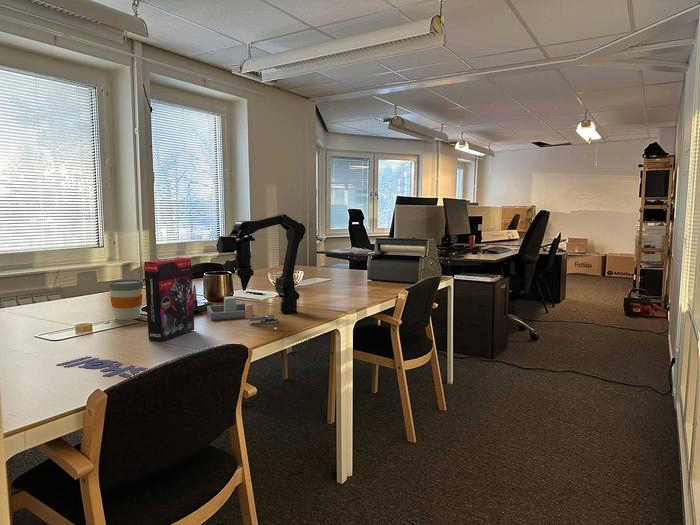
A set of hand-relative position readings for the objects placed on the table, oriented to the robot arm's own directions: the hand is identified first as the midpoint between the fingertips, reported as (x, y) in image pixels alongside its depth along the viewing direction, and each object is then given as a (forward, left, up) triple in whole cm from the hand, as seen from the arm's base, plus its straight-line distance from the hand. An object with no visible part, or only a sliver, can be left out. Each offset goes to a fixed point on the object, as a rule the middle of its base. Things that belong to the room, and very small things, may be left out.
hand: (244, 290), depth 195 cm
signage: (+47, +47, -12) cm, 68 cm away
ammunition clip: (+22, -20, -12) cm, 32 cm away
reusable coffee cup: (+45, -18, -12) cm, 50 cm away
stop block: (+4, -9, -11) cm, 15 cm away
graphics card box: (+29, +17, -12) cm, 35 cm away
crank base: (-8, +13, -12) cm, 20 cm away
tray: (+5, -9, -12) cm, 16 cm away
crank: (-5, +8, -11) cm, 15 cm away
